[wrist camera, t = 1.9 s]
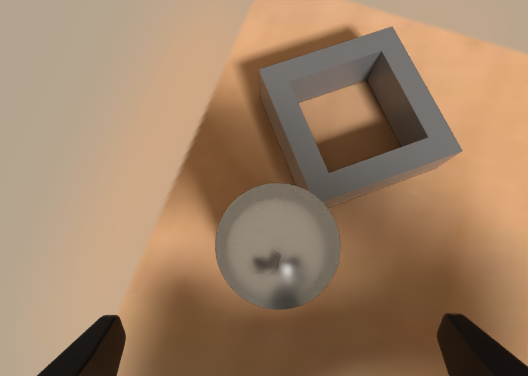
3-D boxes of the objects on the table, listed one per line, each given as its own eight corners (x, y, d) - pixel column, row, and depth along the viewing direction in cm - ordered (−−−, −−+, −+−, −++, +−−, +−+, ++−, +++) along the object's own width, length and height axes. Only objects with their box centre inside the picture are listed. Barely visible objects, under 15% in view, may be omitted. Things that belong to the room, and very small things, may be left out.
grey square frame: (435, 168, 24) (462, 151, 21) (308, 215, 23) (315, 204, 20) (376, 57, 27) (392, 26, 23) (259, 96, 26) (258, 69, 23)
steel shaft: (320, 279, 22) (361, 281, 13) (251, 305, 22) (238, 329, 12) (293, 211, 23) (311, 167, 14) (227, 235, 23) (199, 206, 13)
